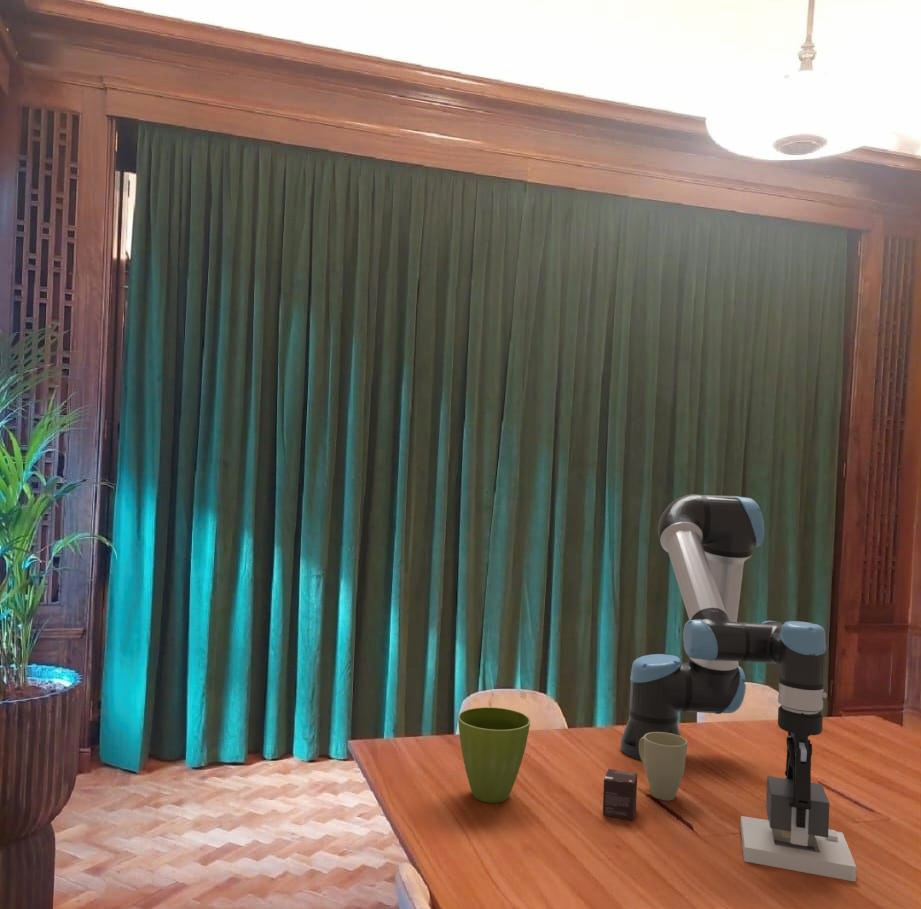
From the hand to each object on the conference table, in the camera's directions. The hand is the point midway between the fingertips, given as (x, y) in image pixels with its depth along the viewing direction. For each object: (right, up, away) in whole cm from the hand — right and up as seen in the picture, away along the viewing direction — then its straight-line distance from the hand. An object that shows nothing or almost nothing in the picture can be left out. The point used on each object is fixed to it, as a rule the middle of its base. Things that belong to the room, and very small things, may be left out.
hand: (795, 831), depth 145 cm
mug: (-19, -4, +25) cm, 31 cm away
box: (-29, -3, +14) cm, 33 cm away
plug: (0, 0, 0) cm, 0 cm away
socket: (0, -4, 0) cm, 4 cm away
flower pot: (-55, -2, +19) cm, 58 cm away
